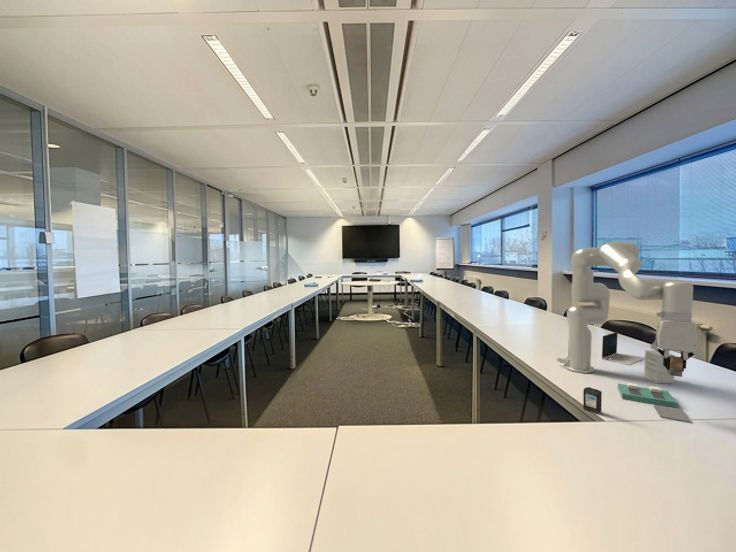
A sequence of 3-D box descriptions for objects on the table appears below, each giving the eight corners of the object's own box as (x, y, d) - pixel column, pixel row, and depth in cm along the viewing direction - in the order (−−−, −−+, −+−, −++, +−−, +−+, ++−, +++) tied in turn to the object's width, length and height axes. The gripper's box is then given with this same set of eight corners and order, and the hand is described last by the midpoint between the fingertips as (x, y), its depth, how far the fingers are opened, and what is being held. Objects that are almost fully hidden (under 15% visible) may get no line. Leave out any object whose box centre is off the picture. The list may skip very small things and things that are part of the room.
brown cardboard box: (670, 375, 113) (671, 358, 113) (667, 372, 117) (667, 355, 117) (682, 376, 112) (682, 359, 112) (678, 373, 115) (679, 356, 115)
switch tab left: (628, 387, 134) (628, 384, 134) (627, 385, 136) (627, 382, 136) (638, 389, 132) (638, 386, 132) (636, 387, 134) (636, 384, 134)
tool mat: (660, 417, 114) (660, 416, 114) (653, 405, 122) (653, 404, 122) (691, 423, 110) (692, 421, 110) (682, 410, 118) (682, 409, 118)
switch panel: (622, 398, 129) (622, 393, 128) (617, 388, 139) (617, 383, 139) (677, 408, 120) (677, 402, 120) (667, 396, 131) (668, 391, 131)
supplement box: (660, 377, 151) (662, 350, 150) (674, 383, 144) (675, 355, 143) (643, 377, 152) (644, 349, 151) (655, 383, 144) (657, 354, 144)
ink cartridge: (583, 409, 120) (583, 387, 120) (586, 407, 121) (586, 386, 121) (598, 414, 116) (598, 392, 116) (601, 412, 117) (601, 390, 117)
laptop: (629, 366, 168) (630, 340, 167) (601, 359, 178) (602, 336, 178) (643, 360, 178) (644, 336, 177) (615, 354, 188) (616, 331, 187)
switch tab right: (651, 391, 130) (651, 388, 130) (649, 389, 132) (649, 386, 132) (660, 392, 129) (661, 389, 129) (659, 390, 131) (659, 387, 131)
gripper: (648, 316, 115) (646, 368, 116) (713, 321, 107) (710, 376, 108) (643, 313, 121) (641, 362, 122) (705, 317, 113) (702, 370, 114)
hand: (674, 368), depth 115 cm, fingers closed on brown cardboard box, 3 cm apart
